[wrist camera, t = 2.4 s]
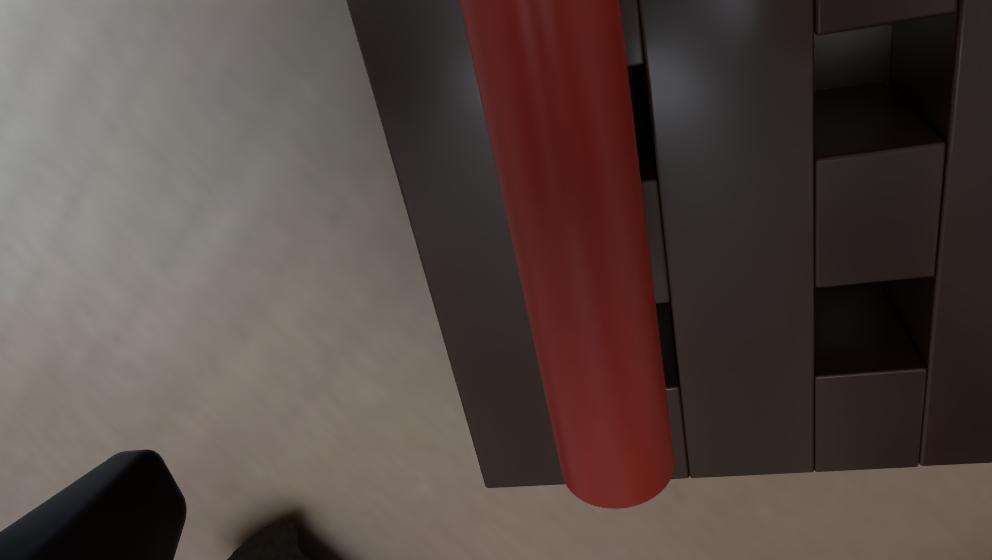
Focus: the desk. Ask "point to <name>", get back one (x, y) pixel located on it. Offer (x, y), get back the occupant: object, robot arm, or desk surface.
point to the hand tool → (272, 544)
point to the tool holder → (736, 233)
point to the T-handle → (578, 234)
